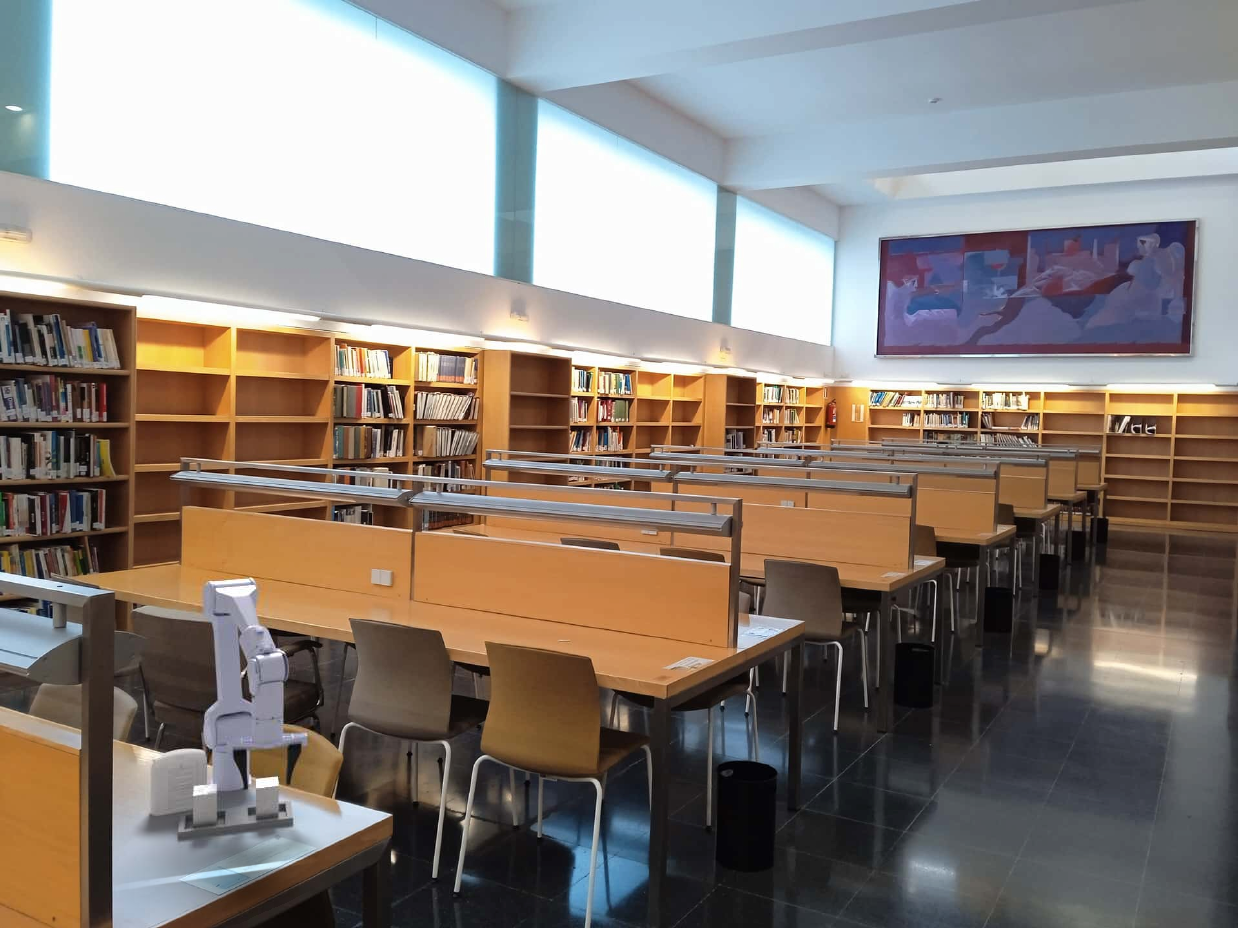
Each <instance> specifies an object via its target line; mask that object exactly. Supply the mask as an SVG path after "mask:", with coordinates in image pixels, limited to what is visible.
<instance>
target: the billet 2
mask: <svg viewBox="0 0 1238 928" xmlns="http://www.w3.org/2000/svg"><path fill="white" fill-rule="evenodd" d="M279 783H280V782H279V778H278V776H272V777H271V776H270V777H263V778H262V777H261V778H255V805H256V820H264V819H272V818H279V802H280V798H279V797H280V784H279Z"/></svg>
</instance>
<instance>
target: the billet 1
mask: <svg viewBox="0 0 1238 928" xmlns="http://www.w3.org/2000/svg"><path fill="white" fill-rule="evenodd" d="M217 810H218V791H217V784H211V783H210V784H207V785H200V786H194V793H193V810H192V813H193V828H201V827H209V826H217Z"/></svg>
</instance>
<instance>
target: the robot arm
mask: <svg viewBox="0 0 1238 928" xmlns="http://www.w3.org/2000/svg"><path fill="white" fill-rule="evenodd" d="M258 600H259V588H258V585H257V582H256V581H255V579H253V577H248V578H242V579H241V578H240V579H227V580H217V581H212V580H210V581H209V580H208V581H207V582H206V583H204V586H203V589H202V613H203V616H204V617H203V618H204V620H205V621H207V622H209V623H212V625H211V626H212V630H213V641H214V643H213V644H214V657H215V673H216V690H217V700H216V701H215V702H214V703H213V704H212V705H211V706H210V707H209V708H208V709H207V710H206V711H205V713H204V719H203V720H204V723H203V729H202V730H203V740H204V743H205V745H206V747H208V749H209V750H212V755H211V756H212V762H211V763H212V767H211V768H212V769H211V770H212V774H211V775H212V777H211V779H210V784H217V792H218V791H219V792H233V791H238V790H241V789H243V790H244V791H246V790H249V785H252V775H251V774H250V751H257V750H269V749H276V748H277V749H279V748H286V774H285V785H286V786H290V785H291V782H292V781H291V780H292V776H293V772H294V771H295V770H294V769H295V767H296V764H297V762H298V760H299V758H300V756H301V754H302V747H307V746H308V734H307V732H304V733H284V682H286V681H287V680H288V677H289V673H290V671H289V670H290V667H289V666H290V665H289V660H288V657H287V655H286V653H285V651H282V650H281V649H280V648H276V644H275V643H274V641H273V639H272V636H271V634H270V631H269V629H268V628H267V627H265V626H262V625H260V622H259V619H258V615H257V611H256V606H257V603H258ZM239 631H240V632H241V634H240V636H239ZM240 647H241V650H242V652H243V654H244V656H245V659H246V661H247V666H246V667H247V668H246V671H247V672H246V673H247V679H248V685H249V686H248V689H249V693H250V694H251V702H250V701H248V700H246V699H244V698H243V692H242V691H243V690H242V689H243V688H242V676H241V674H242V673H241V657H240Z"/></svg>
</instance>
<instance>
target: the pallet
mask: <svg viewBox="0 0 1238 928" xmlns="http://www.w3.org/2000/svg"><path fill="white" fill-rule="evenodd" d="M292 809H293V807H292V801H291V800H285V801H279V818H272V819H264V820H256V804H253V805H252V804H251V805H244V806H236V807H229V808H220V809H218V808H217V826H209V827H201V828H193V812H186V813H180V814H179V820H178V821H179V822H178V827H177V829H178V830H177V840H182V839H190V838H196V837H205V836H213V835H214V836H215V835H221V834H229V833H230V834H231V833H235V832H236V833H237V832H245V831H252V830H253V831H254V830H260V829H268V828H275V827H284V826H289V825H294V815H293V810H292Z"/></svg>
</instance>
